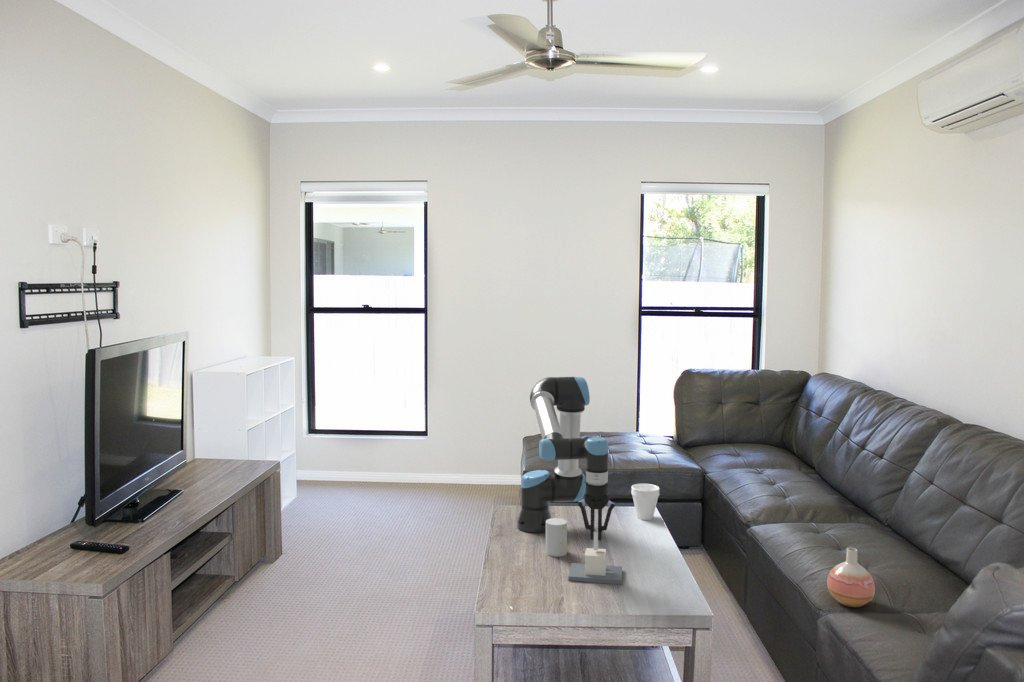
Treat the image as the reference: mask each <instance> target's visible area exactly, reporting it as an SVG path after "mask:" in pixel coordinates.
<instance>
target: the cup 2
mask: <svg viewBox="0 0 1024 682" xmlns="http://www.w3.org/2000/svg"><path fill="white" fill-rule="evenodd" d="M630 494H631V496H632V499H633V500H632V501H633V504H634V509H635V510H634V511H635V514H636V517H637V519H638V518H639V519H638V520H641V519H642V521H651V520H653V519H654V517H655V516H654V514H655V512H656V507H657V503H658V499H659V496H660V487H659V486H658V485H655V484H651V483H635V484H632V485H631V493H630Z"/></svg>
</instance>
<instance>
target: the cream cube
mask: <svg viewBox="0 0 1024 682" xmlns="http://www.w3.org/2000/svg"><path fill="white" fill-rule="evenodd" d="M593 549H594V547H592V548H591V547H590V548H589V547H586V548H585V551H584V564H585V575H599V576H605V574H606V565H607V549H606V548H598V550H593Z"/></svg>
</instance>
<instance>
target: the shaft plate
mask: <svg viewBox="0 0 1024 682" xmlns="http://www.w3.org/2000/svg"><path fill="white" fill-rule="evenodd" d="M567 577H568V578H567V579H568V581H569V582H582V583H585V582H586V583H597V584H610V585H622V583H623V581H622V580H623V578H622V577H623V566H620V565H607V564H606V574H605V576H599V575H585V563H578V562H575V563H574V562H571V564H570V568H569V573H568V576H567Z"/></svg>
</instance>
